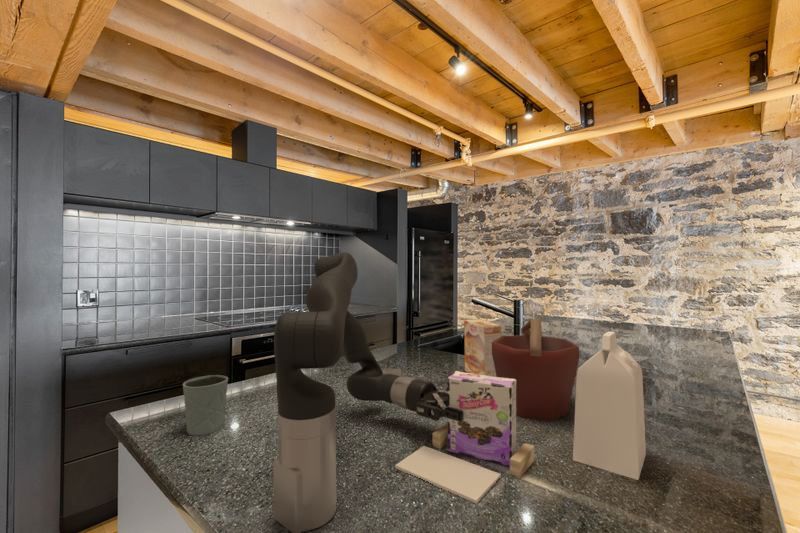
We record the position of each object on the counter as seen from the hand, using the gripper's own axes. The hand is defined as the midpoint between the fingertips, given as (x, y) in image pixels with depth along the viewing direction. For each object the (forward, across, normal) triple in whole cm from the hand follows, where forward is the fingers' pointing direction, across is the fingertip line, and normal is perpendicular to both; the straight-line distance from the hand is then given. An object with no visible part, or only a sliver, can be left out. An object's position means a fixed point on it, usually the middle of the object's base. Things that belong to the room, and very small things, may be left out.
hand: (472, 410), depth 81 cm
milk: (+24, +15, +9) cm, 30 cm away
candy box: (+2, 0, +9) cm, 9 cm away
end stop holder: (+2, 0, +9) cm, 9 cm away
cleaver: (-46, +25, +10) cm, 53 cm away
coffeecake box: (-23, +51, +9) cm, 57 cm away
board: (0, -11, +9) cm, 14 cm away
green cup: (-59, -31, +9) cm, 67 cm away
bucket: (+3, +32, +9) cm, 33 cm away
